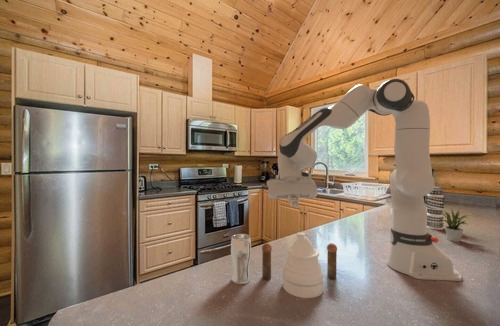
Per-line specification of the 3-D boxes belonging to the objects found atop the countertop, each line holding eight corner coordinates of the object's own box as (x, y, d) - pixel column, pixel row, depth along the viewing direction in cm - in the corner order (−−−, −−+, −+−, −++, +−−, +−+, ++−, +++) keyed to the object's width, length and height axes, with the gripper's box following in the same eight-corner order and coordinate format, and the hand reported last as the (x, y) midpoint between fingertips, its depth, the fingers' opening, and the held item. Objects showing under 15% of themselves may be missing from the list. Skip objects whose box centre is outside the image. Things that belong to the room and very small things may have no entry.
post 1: (272, 276, 84) (272, 242, 84) (270, 280, 81) (270, 246, 81) (263, 274, 85) (263, 241, 85) (260, 279, 82) (260, 245, 82)
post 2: (336, 275, 85) (336, 242, 84) (337, 280, 81) (337, 245, 81) (326, 274, 85) (326, 241, 85) (326, 279, 82) (327, 244, 82)
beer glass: (248, 286, 77) (248, 240, 77) (228, 284, 79) (228, 239, 79) (252, 276, 84) (252, 234, 84) (233, 274, 86) (233, 233, 85)
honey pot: (316, 303, 69) (316, 241, 68) (276, 289, 75) (276, 233, 75) (327, 283, 79) (328, 230, 79) (291, 273, 86) (292, 224, 86)
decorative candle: (425, 228, 144) (426, 187, 143) (424, 224, 151) (425, 185, 151) (444, 230, 138) (445, 188, 138) (443, 227, 146) (444, 186, 145)
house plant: (476, 248, 111) (476, 213, 111) (438, 242, 119) (438, 209, 119) (471, 240, 122) (472, 208, 122) (437, 234, 131) (438, 205, 131)
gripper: (266, 174, 100) (269, 201, 91) (314, 173, 101) (322, 201, 91) (265, 183, 105) (268, 210, 95) (311, 182, 105) (318, 209, 96)
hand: (294, 205), depth 93 cm, fingers closed
